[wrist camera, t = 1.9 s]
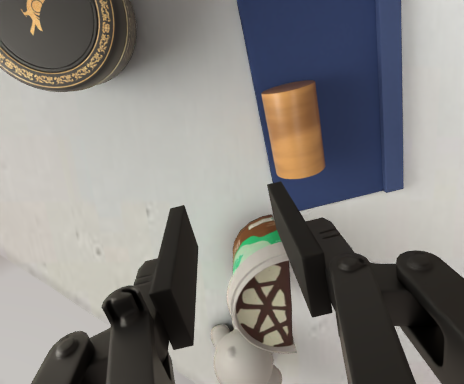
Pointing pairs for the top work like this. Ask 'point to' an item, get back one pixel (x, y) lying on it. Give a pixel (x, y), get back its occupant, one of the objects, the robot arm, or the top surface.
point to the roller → (294, 129)
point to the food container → (261, 287)
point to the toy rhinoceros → (241, 359)
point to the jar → (66, 41)
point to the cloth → (335, 87)
